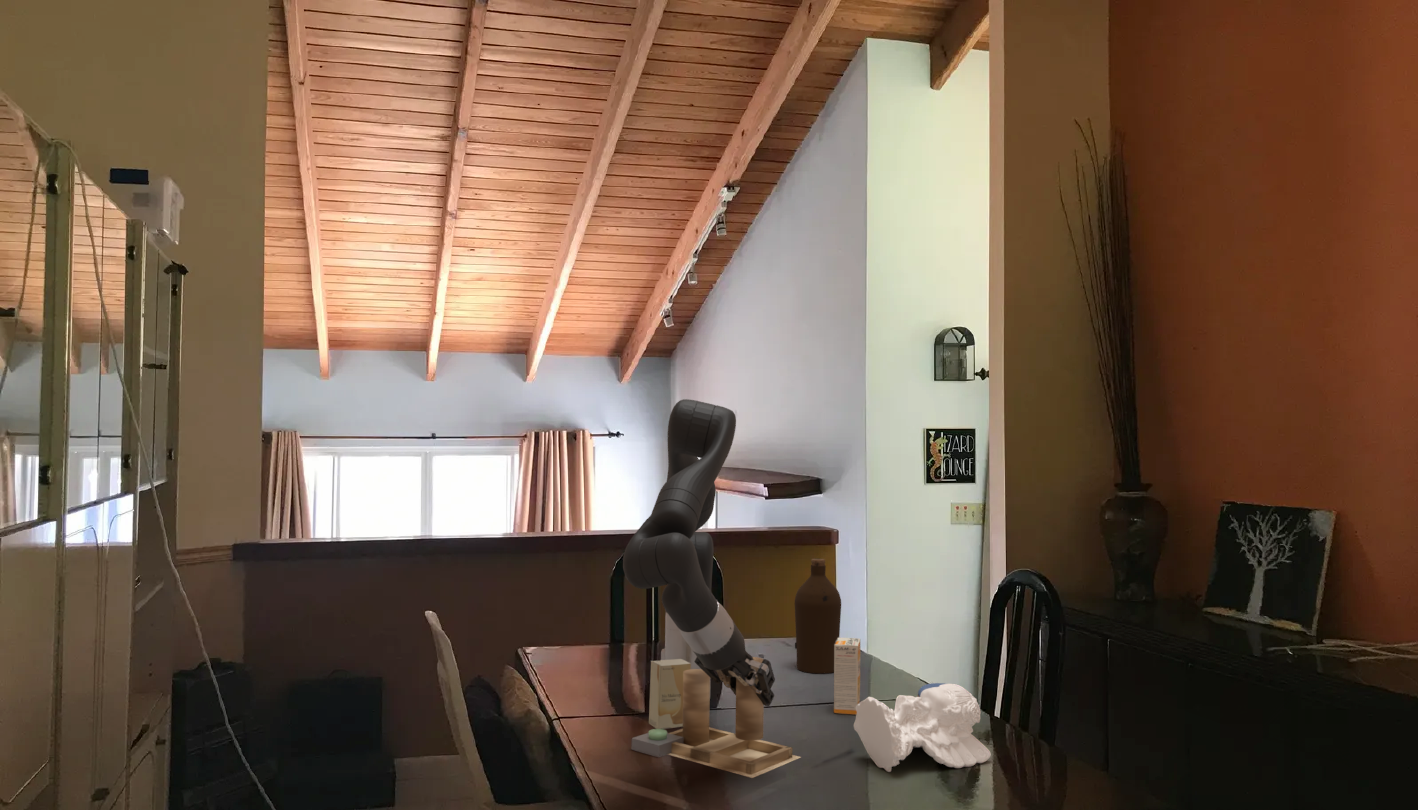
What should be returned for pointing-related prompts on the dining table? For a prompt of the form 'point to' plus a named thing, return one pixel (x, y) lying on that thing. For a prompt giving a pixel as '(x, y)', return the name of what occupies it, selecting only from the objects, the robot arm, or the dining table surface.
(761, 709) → the loose billet
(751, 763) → the wooden tray
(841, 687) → the supplement box
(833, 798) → the dining table surface
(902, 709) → the cherub figurine
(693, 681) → the cylinder
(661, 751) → the block
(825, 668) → the olive oil
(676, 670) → the skincare box
